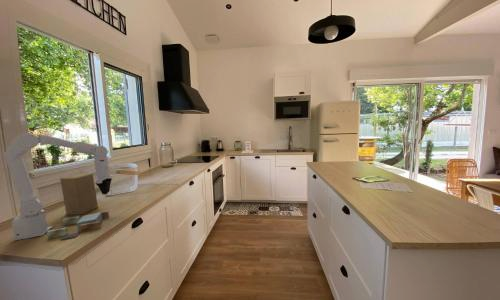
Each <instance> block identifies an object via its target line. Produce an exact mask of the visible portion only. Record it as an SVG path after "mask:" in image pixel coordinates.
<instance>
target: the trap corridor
mask: <svg viewBox="0 0 500 300" xmlns="http://www.w3.org/2000/svg"><path fill="white" fill-rule="evenodd" d="M95 213H96V212H94V213H92V214H95ZM98 213H101V214H102V220H103V219H107V218H108V219H109V217H110V214H109V210H107V211H106V210H105V211H99V212H98ZM80 219H81V217H80V215H76V216H71V217H64V218H63V219H62V224H63V227H62V228H61V227H59V228H57V229H50V230H48V231H47V232H46V234H47V239H49V240H50V239H54V238H59V237H62V238H60V241H66V240H70V239H76V238H77V237H78V236H79V235H80V234H81V233H85V232H90V231H95V230H100V229H101V228H102V226H101V222H100V221H98V222H92V223H87V224H82V225H80V230H79V232H73V233H68V228H67V227H64V226H71V225H75V224H77V222H78V221H79V220H80Z"/></svg>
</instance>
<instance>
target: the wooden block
mask: <svg viewBox="0 0 500 300" xmlns="http://www.w3.org/2000/svg"><path fill="white" fill-rule="evenodd" d="M94 179H95V178H94V174H93V173H78V174H77V173H76V174H72V175H69V176H65V177H60V178H59V180H60V186H61V193H62V197H63V201H64V207H65V214H66V215H83V214H85V213H88V212H91V211H93V210H95V209H96V208H99V205H98V198H97V193H96V186H95V185H96V184H95V180H94Z"/></svg>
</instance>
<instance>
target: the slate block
mask: <svg viewBox="0 0 500 300" xmlns="http://www.w3.org/2000/svg"><path fill="white" fill-rule="evenodd" d="M94 213H95V214H93V213H90V214H86V215H83V216H82V217H80V220H79V221H78V222H77V223H76V227H77V231H79V232H80V225H82V224H87V223H92V222H98V221H100V223H101V222H102V221H103V219H102V214H101V213H99V212H94Z"/></svg>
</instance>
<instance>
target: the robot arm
mask: <svg viewBox="0 0 500 300" xmlns="http://www.w3.org/2000/svg"><path fill="white" fill-rule="evenodd" d="M39 144H40V146H46V145H53V146H58V147H64V148H69V149H72V150H73V152H75V153H78V154H79V153H80V154H84V155H88V156H91V155H92V156H93V163H94V170H95V174H96V175H95V176H96V177H95V178H96V182H95V185H96V187H98V189H99V190H100V192H101V194H102V195H107V194H108V193H110V189H111V183H112V180H113V178H112V177H114V175H113V174H111V173H110V168H109V166H110V165H109V159H108V153H109V150H108V149H107V147H105V146H103V145H99V144H97V143H96V142H95V143H91V142H86V140H77V141H70V140H67V139H63V138H58V137H53V136H51V135H44V134H37V133H36V135H35V134H33V133H30V132H26V133H21V134H19V135H18V136H17V137H15V138H14V139H13V140H12V142H11V143H10V144H9V146H8V147H7V149H6V151H5V152H4V157H5V158H4V159H5V161H6V164H7V167H8V169H9V172H10V175H11V177H12V180H13V183H14V187H15V190H16V193H17V194H18V197H19V198H18V199H19V202H20V207H19V213H20V215H18V216H15V218H13V220H12V222H11V228H12V232H13V237H14V238H13V239H12V240H13V241H19V240H24V239H30V238H34V237H41V236H43V235H45V234H47V231H49V230H52V228H53V226H52V225H51V226H48V222H47V219H46V214H45V210H44V209H43V208H42V200H41V199H40V198H39V197H37V195H36V192H35V189H34V187H33V185H32V184H33V183H32V181H31V178H30V175H29V172H28V169H27V167H26V163H25V160H24V158H23V157H24V156H25V154H27V153H28V151H30V150H32V149H34V148H36V147H37V146H38V145H39Z"/></svg>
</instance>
